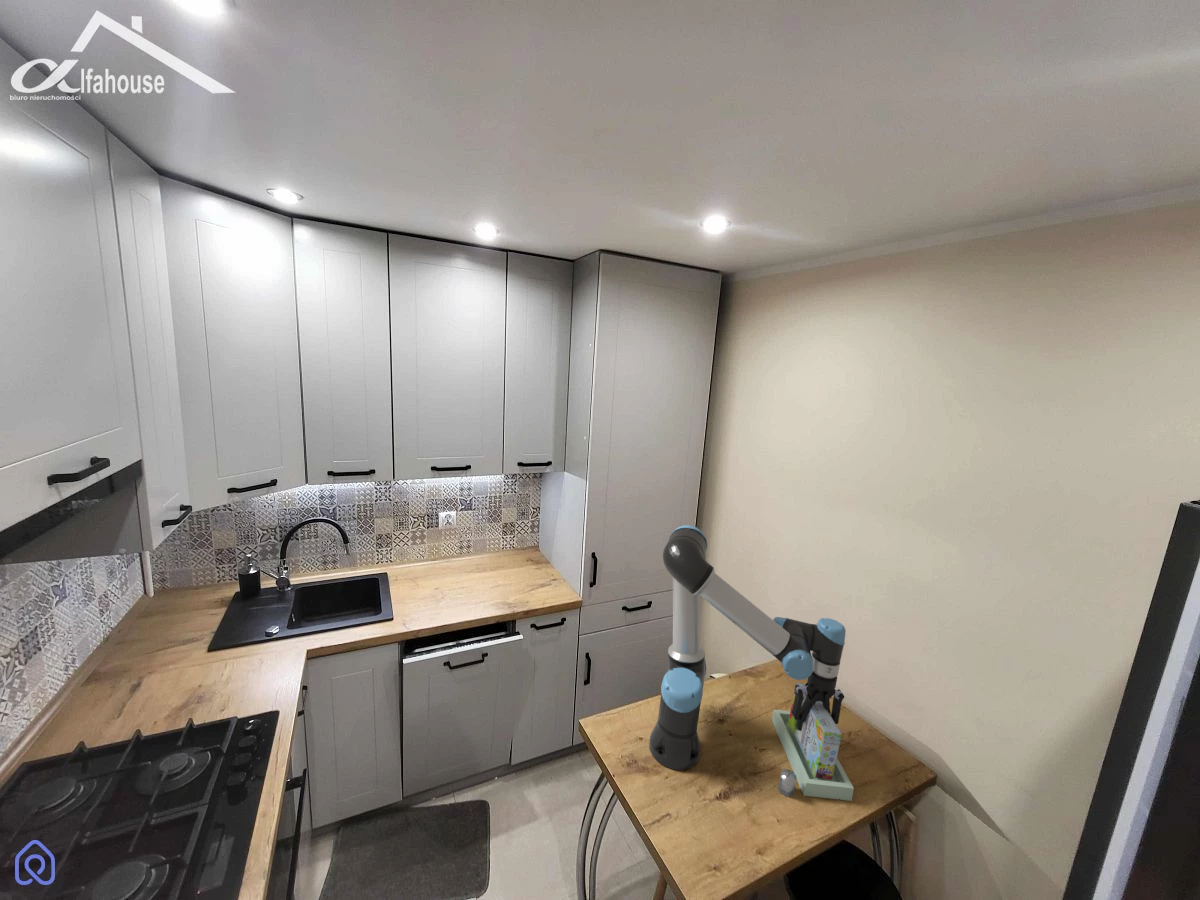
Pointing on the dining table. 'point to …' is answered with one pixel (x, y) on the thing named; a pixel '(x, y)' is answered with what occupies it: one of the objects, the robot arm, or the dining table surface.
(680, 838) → the dining table surface
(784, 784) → the metal part
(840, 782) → the tray
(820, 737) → the snack box
